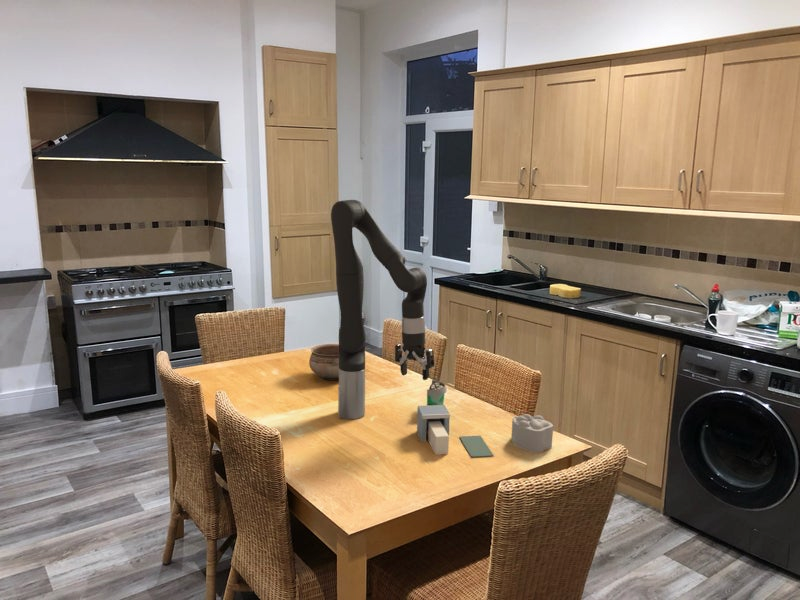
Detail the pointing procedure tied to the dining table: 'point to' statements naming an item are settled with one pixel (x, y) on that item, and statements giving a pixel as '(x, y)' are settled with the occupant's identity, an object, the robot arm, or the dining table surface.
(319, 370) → the cooking pot
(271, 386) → the dining table surface
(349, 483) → the dining table surface
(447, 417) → the dispenser sleeve
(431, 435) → the tall cream rectangular prism
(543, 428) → the lumpy-topped squat cylinder
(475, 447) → the rubber mat
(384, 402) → the dining table surface
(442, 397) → the food container
